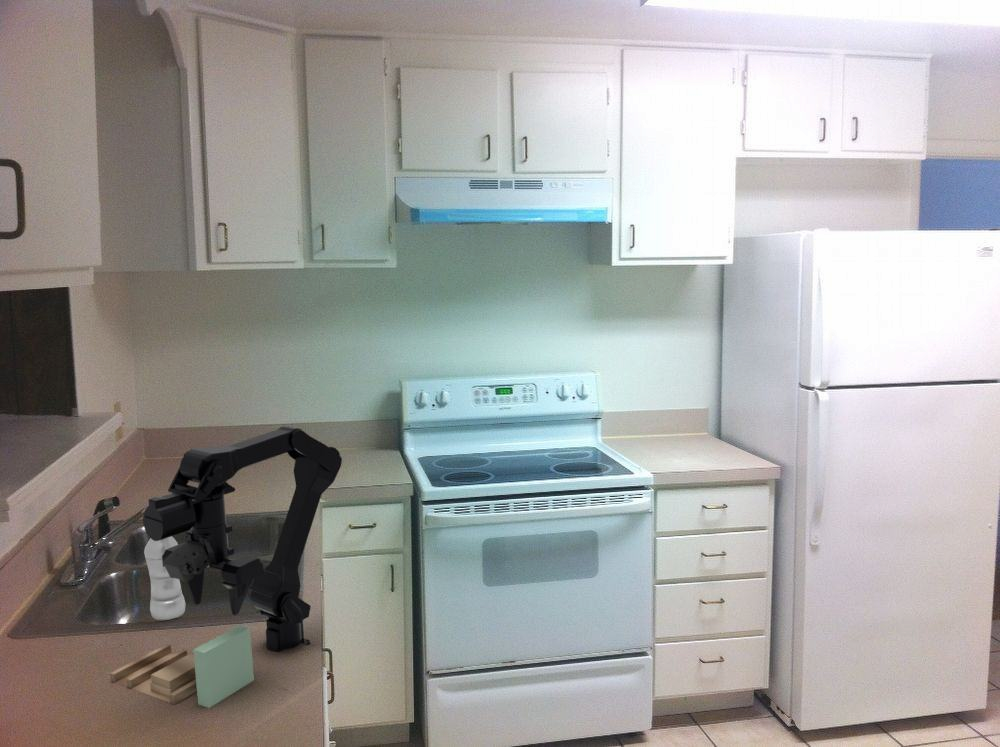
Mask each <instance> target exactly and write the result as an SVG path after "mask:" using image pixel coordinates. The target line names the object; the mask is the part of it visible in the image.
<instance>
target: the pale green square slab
mask: <svg viewBox="0 0 1000 747" xmlns="http://www.w3.org/2000/svg"><path fill="white" fill-rule="evenodd" d="M251 636H252V635H251V627H249V626H245V625H242V624H239V625H236V626H235V627H232V628H231V629H229V630H226V631H225V632H223V633H221V634H219V635H218V636H216V637H214V638H213V639H210V640H208V641H206V642H205V643H202V644H200V645H199V646H197V647H196V648H193V651H192V652H194V663H195V674H196V685H197V692H196V694H197V695H196V696H197V704H198V705H199V706H203V707H205V708H208V709H210V708H212V707H213V706H215V705H216V704H218V703H220V702H221V701H223V700H224V699H226V698H227V697H229V696H231V695H232V694H234V693H236V692H238V691H239V690H240V689H242V688H244V687H246V686H248V685H249V684H250V683H252V682H253V681H255V677H254V676H255V675H254V674H255V673H254V662H253V651H252V638H251Z"/></svg>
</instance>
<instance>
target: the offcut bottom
mask: <svg viewBox="0 0 1000 747" xmlns="http://www.w3.org/2000/svg"><path fill="white" fill-rule="evenodd" d="M195 679H196V675H195V676H193V677H192V678H190V679H188V680H186V681H185V682H183V683H181V684H179V685H178V686H176V687H174V688H172V689H171V690H170V689H167V688H164V687H162V686H159V685H156V684H153V683H152V682H151V683H150V687H151V691H152V692H155V693H158V694H160V695H163V696H166V697H169V698H170V695H169V694H171V693H173V692H174V691H176V690H178V689H180V688H181V687H183V686H185V685H187V684H188V683H190V682H192V681H194V680H195Z"/></svg>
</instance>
